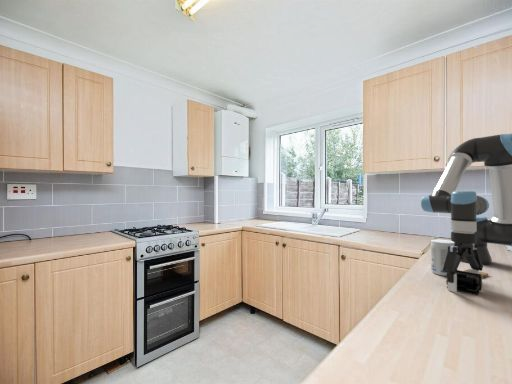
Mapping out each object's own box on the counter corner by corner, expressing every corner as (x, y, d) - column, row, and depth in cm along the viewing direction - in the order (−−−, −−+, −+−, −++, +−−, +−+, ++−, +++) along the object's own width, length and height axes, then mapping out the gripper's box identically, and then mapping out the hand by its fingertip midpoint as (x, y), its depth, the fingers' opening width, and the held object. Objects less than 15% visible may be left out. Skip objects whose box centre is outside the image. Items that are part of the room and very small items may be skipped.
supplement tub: (461, 274, 113) (461, 241, 113) (452, 278, 108) (452, 244, 108) (436, 269, 122) (436, 238, 121) (427, 272, 116) (427, 240, 116)
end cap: (482, 290, 95) (482, 272, 95) (479, 296, 91) (479, 277, 91) (449, 283, 103) (449, 266, 103) (445, 288, 98) (445, 270, 98)
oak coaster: (468, 271, 118) (468, 269, 118) (488, 275, 112) (488, 273, 112) (461, 273, 114) (461, 271, 114) (481, 278, 108) (481, 276, 108)
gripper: (472, 228, 104) (472, 281, 104) (431, 232, 96) (431, 289, 96) (495, 231, 97) (495, 288, 97) (452, 235, 89) (452, 297, 89)
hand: (463, 288), depth 97 cm, fingers open, 12 cm apart
